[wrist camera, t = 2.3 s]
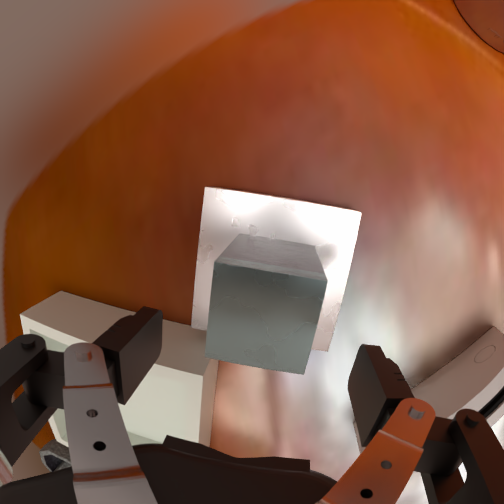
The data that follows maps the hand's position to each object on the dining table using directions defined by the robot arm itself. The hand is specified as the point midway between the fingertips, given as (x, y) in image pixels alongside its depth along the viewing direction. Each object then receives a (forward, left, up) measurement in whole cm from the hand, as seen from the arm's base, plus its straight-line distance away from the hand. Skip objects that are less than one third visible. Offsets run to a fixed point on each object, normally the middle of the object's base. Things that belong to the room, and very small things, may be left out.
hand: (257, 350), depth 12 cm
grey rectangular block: (0, 0, -9) cm, 9 cm away
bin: (+14, -11, -11) cm, 21 cm away
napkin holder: (+9, +17, -11) cm, 22 cm away
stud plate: (0, 0, -11) cm, 11 cm away
